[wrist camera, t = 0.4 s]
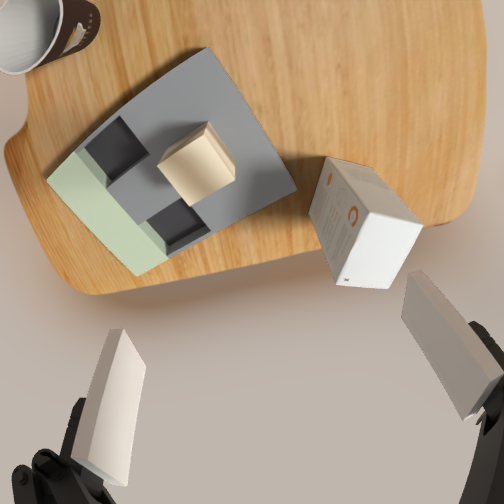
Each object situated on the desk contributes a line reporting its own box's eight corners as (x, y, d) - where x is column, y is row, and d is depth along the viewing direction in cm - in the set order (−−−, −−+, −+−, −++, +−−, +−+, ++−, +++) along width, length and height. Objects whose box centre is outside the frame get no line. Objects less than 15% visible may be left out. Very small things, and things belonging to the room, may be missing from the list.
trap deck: (209, 47, 25) (207, 46, 23) (293, 180, 35) (297, 190, 33) (55, 172, 31) (46, 180, 29) (140, 265, 41) (136, 276, 39)
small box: (351, 221, 39) (388, 291, 28) (307, 213, 38) (333, 286, 27) (372, 166, 34) (425, 225, 23) (325, 154, 33) (367, 212, 22)
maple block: (208, 121, 27) (203, 134, 24) (235, 160, 30) (235, 180, 26) (167, 147, 29) (156, 165, 25) (195, 183, 32) (189, 206, 28)
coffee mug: (64, 76, 24) (12, 94, 16) (34, 28, 19) (-21, 34, 12) (147, 12, 22) (111, 0, 14) (112, -38, 17) (69, -61, 9)
